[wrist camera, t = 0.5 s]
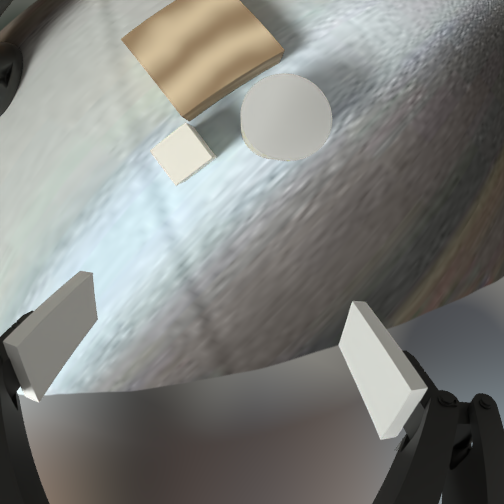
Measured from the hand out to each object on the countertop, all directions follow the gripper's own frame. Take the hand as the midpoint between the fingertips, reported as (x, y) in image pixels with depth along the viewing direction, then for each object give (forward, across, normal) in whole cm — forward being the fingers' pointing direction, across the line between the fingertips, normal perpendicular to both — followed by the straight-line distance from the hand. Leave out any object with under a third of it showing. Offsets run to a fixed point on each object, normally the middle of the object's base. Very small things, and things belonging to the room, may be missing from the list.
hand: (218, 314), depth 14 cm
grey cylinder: (+26, +4, +12) cm, 29 cm away
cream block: (+26, -6, +7) cm, 27 cm away
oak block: (+26, -6, +21) cm, 34 cm away
